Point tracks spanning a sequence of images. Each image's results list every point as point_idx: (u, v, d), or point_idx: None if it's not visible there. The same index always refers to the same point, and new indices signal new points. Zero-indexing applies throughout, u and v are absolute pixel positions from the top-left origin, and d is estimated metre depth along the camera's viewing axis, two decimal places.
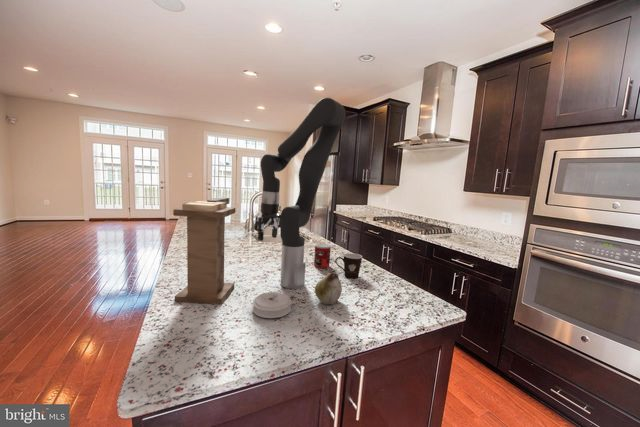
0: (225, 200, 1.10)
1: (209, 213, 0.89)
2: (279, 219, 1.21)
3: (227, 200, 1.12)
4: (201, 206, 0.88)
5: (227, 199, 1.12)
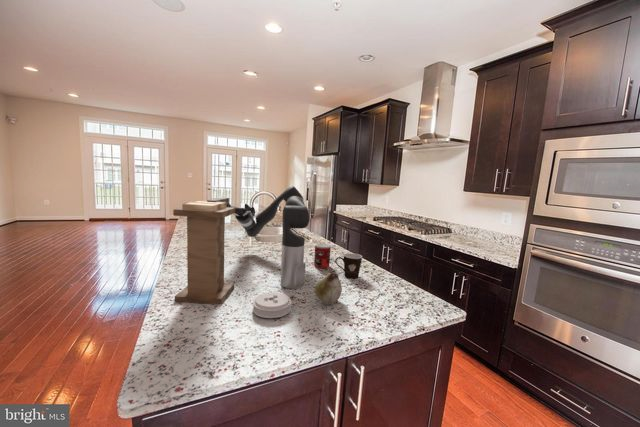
0: (225, 200, 1.10)
1: (209, 213, 0.89)
2: None
3: (227, 200, 1.12)
4: (201, 206, 0.88)
5: (227, 199, 1.12)
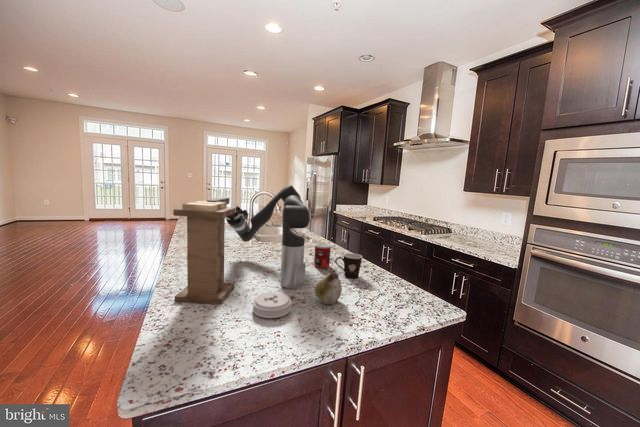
0: (225, 200, 1.10)
1: (209, 213, 0.89)
2: None
3: (227, 200, 1.12)
4: (201, 206, 0.88)
5: (227, 199, 1.12)
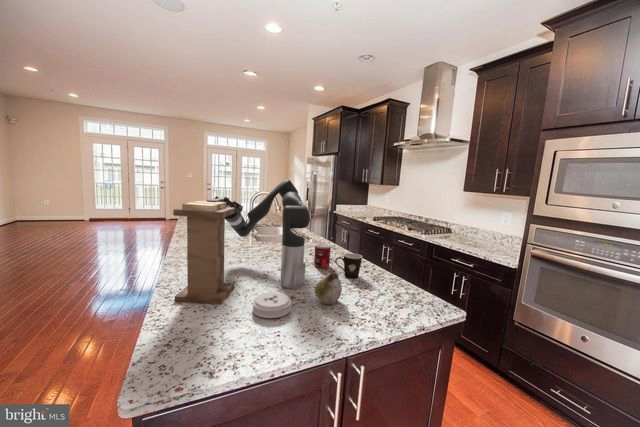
0: None
1: (209, 213, 0.89)
2: None
3: None
4: (201, 206, 0.88)
5: None
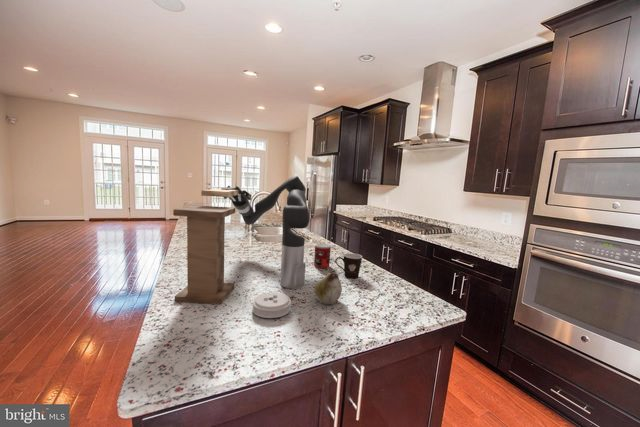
0: None
1: (209, 213, 0.89)
2: None
3: None
4: (217, 192, 1.02)
5: None
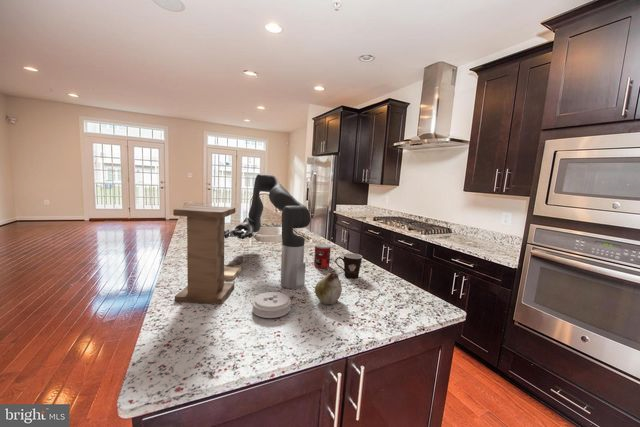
0: (240, 260, 1.36)
1: (209, 213, 0.89)
2: (250, 231, 1.36)
3: (241, 259, 1.38)
4: (224, 276, 1.14)
5: (241, 258, 1.38)
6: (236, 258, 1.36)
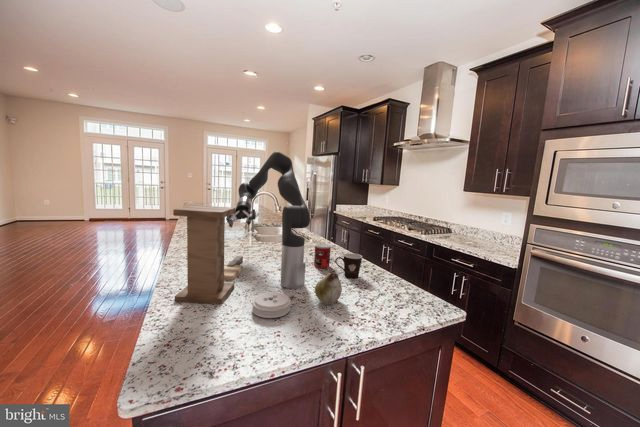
0: (240, 260, 1.36)
1: (209, 213, 0.89)
2: (252, 211, 1.38)
3: (241, 259, 1.38)
4: (224, 276, 1.14)
5: (241, 258, 1.38)
6: (236, 258, 1.36)
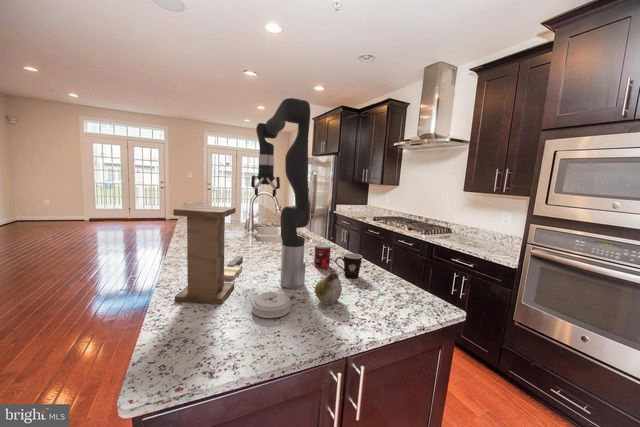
0: (240, 260, 1.36)
1: (209, 213, 0.89)
2: (276, 180, 1.35)
3: (241, 259, 1.38)
4: (224, 276, 1.14)
5: (241, 258, 1.38)
6: (236, 258, 1.36)
